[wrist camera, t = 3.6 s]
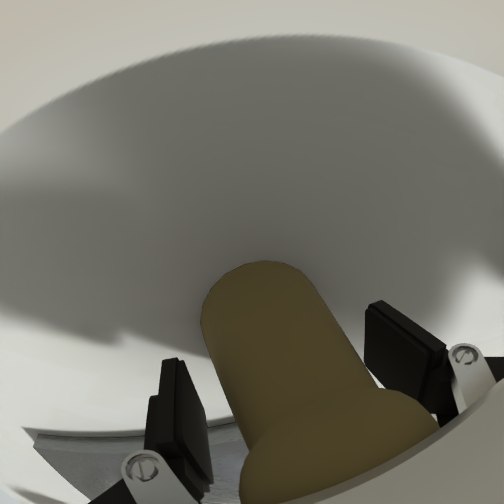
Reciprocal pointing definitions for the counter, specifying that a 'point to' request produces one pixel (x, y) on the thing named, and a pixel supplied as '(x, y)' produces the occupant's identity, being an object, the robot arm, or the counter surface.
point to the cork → (299, 387)
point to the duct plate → (118, 448)
